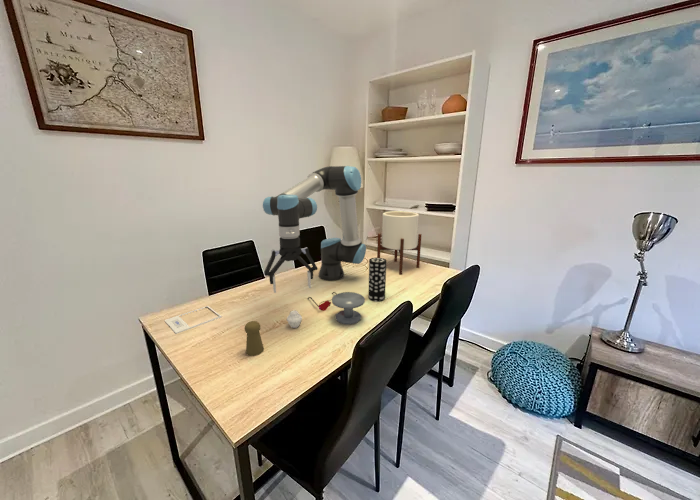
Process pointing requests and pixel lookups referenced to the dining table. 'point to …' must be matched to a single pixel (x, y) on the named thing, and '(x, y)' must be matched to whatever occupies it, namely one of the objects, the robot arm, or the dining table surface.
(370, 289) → the spotted tube
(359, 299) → the cake stand
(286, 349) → the dining table surface
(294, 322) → the muffin
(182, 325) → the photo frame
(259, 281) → the dining table surface
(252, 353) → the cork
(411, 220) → the plant pot with stand
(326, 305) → the glasses
